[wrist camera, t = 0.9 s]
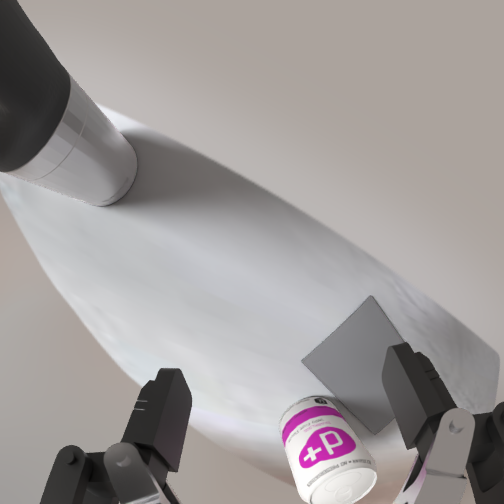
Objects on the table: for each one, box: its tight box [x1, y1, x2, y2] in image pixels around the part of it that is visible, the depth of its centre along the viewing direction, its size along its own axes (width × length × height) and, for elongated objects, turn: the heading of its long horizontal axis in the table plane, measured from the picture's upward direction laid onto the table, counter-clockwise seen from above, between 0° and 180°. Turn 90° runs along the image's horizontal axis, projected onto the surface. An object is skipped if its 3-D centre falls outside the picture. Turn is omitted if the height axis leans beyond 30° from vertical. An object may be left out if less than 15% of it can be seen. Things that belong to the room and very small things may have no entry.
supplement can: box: [279, 397, 377, 504], centre depth 25 cm, size 8×8×15 cm
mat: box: [301, 296, 404, 435], centre depth 33 cm, size 20×12×1 cm, turn 41°
